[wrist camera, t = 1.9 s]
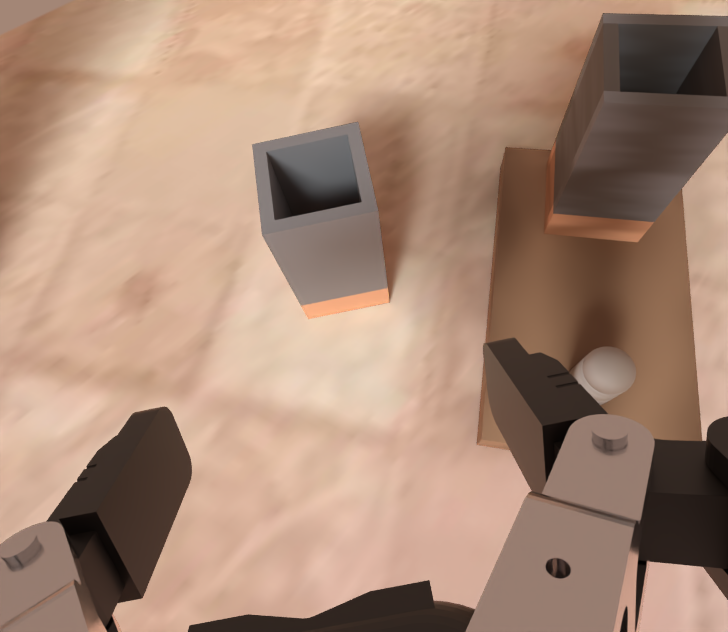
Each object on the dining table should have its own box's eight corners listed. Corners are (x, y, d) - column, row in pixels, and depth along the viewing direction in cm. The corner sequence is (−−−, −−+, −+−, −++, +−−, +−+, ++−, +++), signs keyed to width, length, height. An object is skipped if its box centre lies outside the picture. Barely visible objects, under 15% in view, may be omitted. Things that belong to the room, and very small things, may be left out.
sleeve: (389, 302, 29) (378, 210, 20) (308, 318, 29) (262, 234, 20) (374, 232, 31) (358, 121, 22) (298, 248, 31) (252, 144, 22)
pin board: (476, 444, 25) (520, 395, 15) (500, 168, 32) (542, -4, 21) (682, 477, 24) (897, 449, 13) (663, 180, 30) (797, 0, 20)
